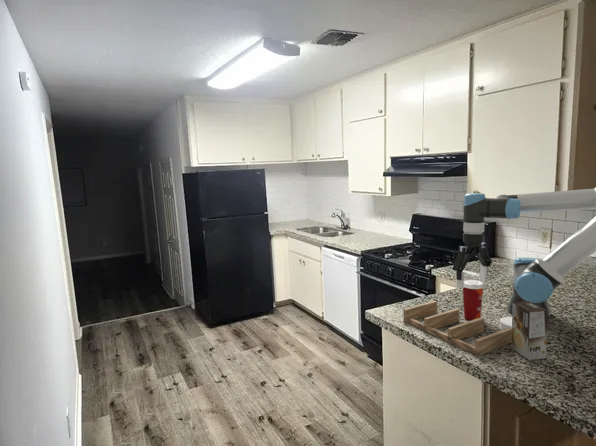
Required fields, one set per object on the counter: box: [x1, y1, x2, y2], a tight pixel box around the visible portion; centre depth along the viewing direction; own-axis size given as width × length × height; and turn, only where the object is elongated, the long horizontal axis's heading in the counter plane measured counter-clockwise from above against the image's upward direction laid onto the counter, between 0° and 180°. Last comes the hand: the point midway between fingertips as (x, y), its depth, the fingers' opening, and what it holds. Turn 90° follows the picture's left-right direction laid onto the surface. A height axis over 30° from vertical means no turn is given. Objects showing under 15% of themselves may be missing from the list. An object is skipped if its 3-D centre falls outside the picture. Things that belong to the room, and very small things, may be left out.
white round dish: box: [499, 316, 512, 331], centre depth 145 cm, size 10×10×4 cm
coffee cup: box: [462, 279, 485, 321], centre depth 156 cm, size 8×8×15 cm
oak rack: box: [402, 300, 512, 357], centre depth 146 cm, size 35×18×5 cm, turn 28°
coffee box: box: [511, 301, 549, 361], centre depth 126 cm, size 9×6×16 cm
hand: (471, 284), depth 156 cm, fingers open, 13 cm apart
